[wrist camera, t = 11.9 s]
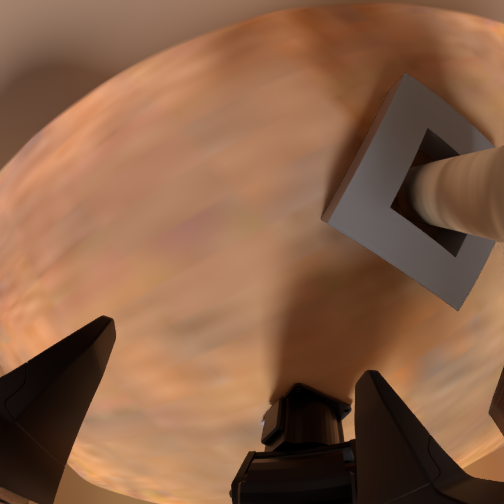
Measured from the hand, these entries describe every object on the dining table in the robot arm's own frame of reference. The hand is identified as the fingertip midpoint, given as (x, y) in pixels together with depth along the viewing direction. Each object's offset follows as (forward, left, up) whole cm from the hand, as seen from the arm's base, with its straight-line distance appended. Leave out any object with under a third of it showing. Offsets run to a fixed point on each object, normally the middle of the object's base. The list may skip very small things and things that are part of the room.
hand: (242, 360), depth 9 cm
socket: (-7, -11, -13) cm, 18 cm away
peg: (-7, -11, -13) cm, 18 cm away
